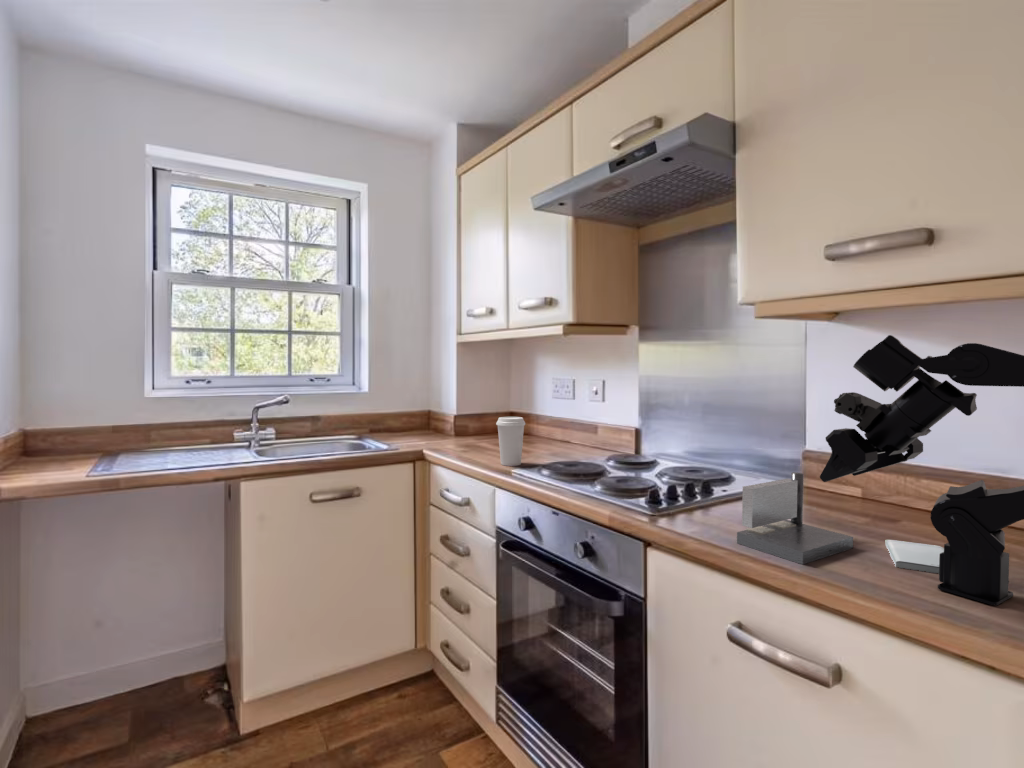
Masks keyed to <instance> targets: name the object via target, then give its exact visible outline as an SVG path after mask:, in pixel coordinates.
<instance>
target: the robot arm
mask: <svg viewBox="0 0 1024 768" xmlns="http://www.w3.org/2000/svg"><path fill="white" fill-rule="evenodd" d="M852 367H853V368H854V369H855V371H856V370H857V371H858V372H859V373H860V374H862V375H863V376H864V377H866V378H867V379H868V380H869V381H871V382H872V383H873V384H874V385H875V386H876V387H878V388H880V389H881V390H882V391H883V392H887V391H888V390H889V389H890V390H893V391H895V392H898V391H900V390H901V389H903V388H904V387H905V386H907V385H908V384H909V383H910V382H912V381H913V379H917V381H915V382H914V383H913V384H912V385H910V387H909V388H907V389H906V390H905V391H904V392H903V393H902V394H901V395H899V396H898V397H897V398H896V399H895V400H894V401H892V402H891V403H881V402H879V401H876V400H874V399H872V398H871V397H870V398H869V397H867V396H866V395H863V394H861V393H857V392H855V391H854V392H852V391H851V392H842V393H840V394H839V395H838V397H837V398H835V399H834V400H833V404H834V409H833V411H834V412H836V413H837V414H839V415H844V416H846V417H848V418H850V419H852V420H854V421H856V422H857V424H856V428H858V429H859V430H860V431H861V432H864V437H865V438H864V437H863V436H862V435H861V434H860V432H858V430H856V429H855V428H847V427H845V428H838V429H837V428H836V429H833V430H832V431H831V432H830V433H828V435H827V436H826V437H825V442H827V444H828V446H829V447H830V449H831V454H830V456H829V458H828V460H827V462H826V464H825V466H824V468H823V469H822V472H821V473H820V474H819V478H820V480H821V481H822V482H823V483H827V482H830V481H833V480H837V479H840V478H843V477H847V476H849V475H852V476H853V477H854V476H859V475H862V474H866V473H868V472H873V471H877V470H880V469H883V468H887V467H891V466H895V465H897V464H901V463H905V462H907V461H908V460H914V459H915V458H917V457H918V456H920V454H922V453H923V452H924V442H922V441H921V440H920V439H919V437H924V436H927V435H928V434H930V433H931V432H932V430H931V428H932V427H933V426H934V425H936V423H938V422H939V421H941V420H942V419H943V418H944V417H946V416H947V415H949V413H951V412H952V411H953V410H955V409H957V410H959V412H961V413H962V414H964V415H965V416H968V417H969V416H971V415H972V414H974V412H976V411H977V410H978V407H977V402H976V398H977V396H978V395H977V393H976V392H971V393H970V392H969V393H967V392H963V391H961V389H959V388H958V387H956V386H955V385H954V384H952V383H950V382H949V381H948V380H943V382H941V381H939V380H938V379H936V378H934V377H933V376H931V375H929V374H937V375H938V374H939V375H945V376H946V375H947V376H948V377H949V379H951V380H952V381H953V382H955V383H957V384H960V385H964V386H970V387H973V386H974V387H975V386H977V387H1021V388H1022V387H1023V388H1024V355H1023V354H1020V353H1017V352H1012V351H1009V350H1005V349H1002V348H999V347H998V348H997V347H993V346H990V345H985V344H981V343H977V342H975V343H974V342H969V343H963V344H960V345H958V346H956V347H955V348H953V349H951V350H950V351H949V353H948V354H944V355H938V356H931V355H928V356H926V357H925V358H922V357H920V356H919V355H918V354H916V353H915V352H913V350H911V349H909V348H908V347H906V346H905V345H904V344H903V342H901V341H900V339H898V338H897V337H895V336H894V335H892V334H889V335H887V336H886V337H885V338H884V339H883V340H881V341H879V343H877V344H876V345H874V346H873V347H872V348H871V349H867V351H865V352H864V353H862V355H861V356H860V357H859V359H857V360H856V361H855V363H854V364H853V366H852ZM928 373H929V374H928ZM905 452H906V453H905ZM904 453H905V454H904ZM1023 520H1024V485H1021V486H1016V487H1011V488H1003V489H1001V488H994V489H993V488H992V489H991V488H987V486H986V483H985V481H984V480H983V479H981V480H978V481H977V480H976V481H974V482H972V483H969V484H967V485H964V486H949V487H948V490H947V492H945V493H942V494H941V495H940V496H939V497H938V498H937V499H936V501H935V503H934V505H933V507H932V509H931V511H930V521H931V524H932V526H933V528H934V529H935V531H937V532H938V533H939V534H941V535H942V536H943V537H946V540H947V543H944V544H943V548H944V552H942V553H940V557H939V574H938V581H939V582H940V583H939V584H937V589H938V590H941V591H942V592H947V593H951V594H954V595H957V596H960V597H963V598H967V599H971V600H974V601H977V602H980V603H984V604H987V605H991V606H999V605H1001V603H1004V602H1005V601H1007V600H1009V599H1011V598H1013V597H1014V591H1011V590H1009V577H1010V576H1009V575H1010V553H1009V552H1005V549H1006V535H1005V531H1004V530H1003V529H1004V528H1006V527H1009V526H1011V525H1013V524H1015V523H1017V522H1018V523H1019V522H1020V521H1023Z"/></svg>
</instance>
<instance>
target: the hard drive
mask: <svg viewBox="0 0 1024 768" xmlns="http://www.w3.org/2000/svg"><path fill="white" fill-rule="evenodd" d="M884 545H885V547H886V549H888V550H887V552H888V551H889V552H888V553H890V554H889V557H890V558H891V560H893V561H892V563H893V562H894V563H893V565H894V564H895V565H894V567H895V568H897V567H899V568H898V569H903V568H905V570H910V569H911V570H912V571H917V570H919V571H918V572H924V571H926V572H925V573H932V574H937V573H938V575H939V557H940V553H942V552H944V546H943V547H942V546H940V545H934V544H928V543H927V544H926V543H920V542H911V541H903V540H896V539H885V543H884Z"/></svg>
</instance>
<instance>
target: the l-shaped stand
mask: <svg viewBox="0 0 1024 768" xmlns="http://www.w3.org/2000/svg"><path fill="white" fill-rule="evenodd" d="M790 479H792V480H798V484H797V517H796V518H792V519H788V520H784V521H779V522H775V523H771V524H767V525H763V526H759V527H755V528H749V527H747V528H745V529H743V530H740V531H737V532H736V544H738V545H742V546H744V547H748V548H751V549H754V550H757V551H759V552H763V553H766V554H769V555H772V556H776V557H779V558H781V559H784V560H787V561H790V562H794V563H797V564H799V565H802V566H803V565H805V564H809V563H812V562H815V561H818V560H821V559H825V558H827V557H829V556H833V555H836V554H839V553H843V552H845V551H846V552H847V551H849V550H852V549H853V548H854V545H853V544H854V536H852V535H848V534H845V533H844V534H843V533H840V532H835V531H832V530H828V529H825V528H821V527H817V526H813V525H809V524H806V523H803V521H804V519H803V516H804V514H803V513H804V509H803V507H804V473H802V472H796V471H795V472H791V478H790Z"/></svg>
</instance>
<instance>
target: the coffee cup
mask: <svg viewBox="0 0 1024 768" xmlns="http://www.w3.org/2000/svg"><path fill="white" fill-rule="evenodd" d="M495 425H496V426H497V432H498V433H497V435H498V445H499V446H498V448H499V457H500V465H501V466H506V467H507V466H509V467H516V466H521V465H522V454H523V442H524V432H525V426H526V425H527V424H526V421H525V420H524V417H521V416H500V417H498V419H497V421H496V423H495Z"/></svg>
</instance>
